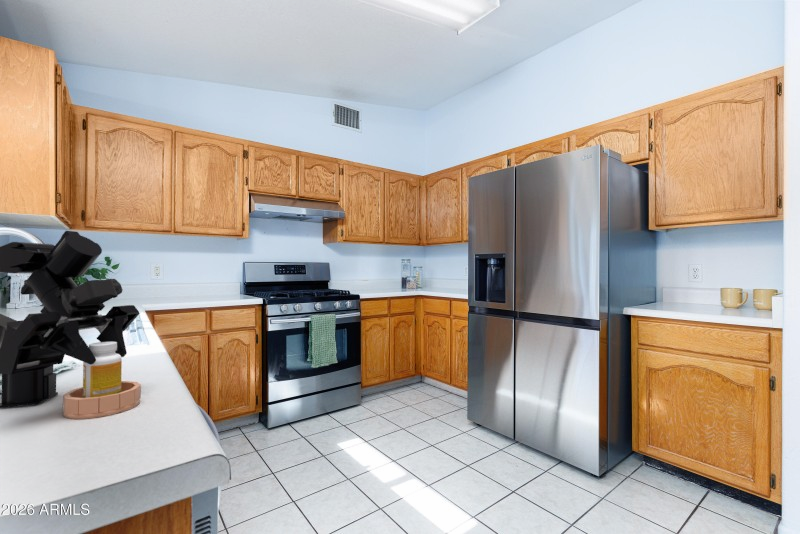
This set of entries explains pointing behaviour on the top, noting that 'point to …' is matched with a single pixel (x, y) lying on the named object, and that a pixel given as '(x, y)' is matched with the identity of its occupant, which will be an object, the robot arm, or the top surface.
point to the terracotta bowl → (101, 402)
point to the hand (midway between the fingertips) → (109, 358)
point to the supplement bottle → (102, 371)
